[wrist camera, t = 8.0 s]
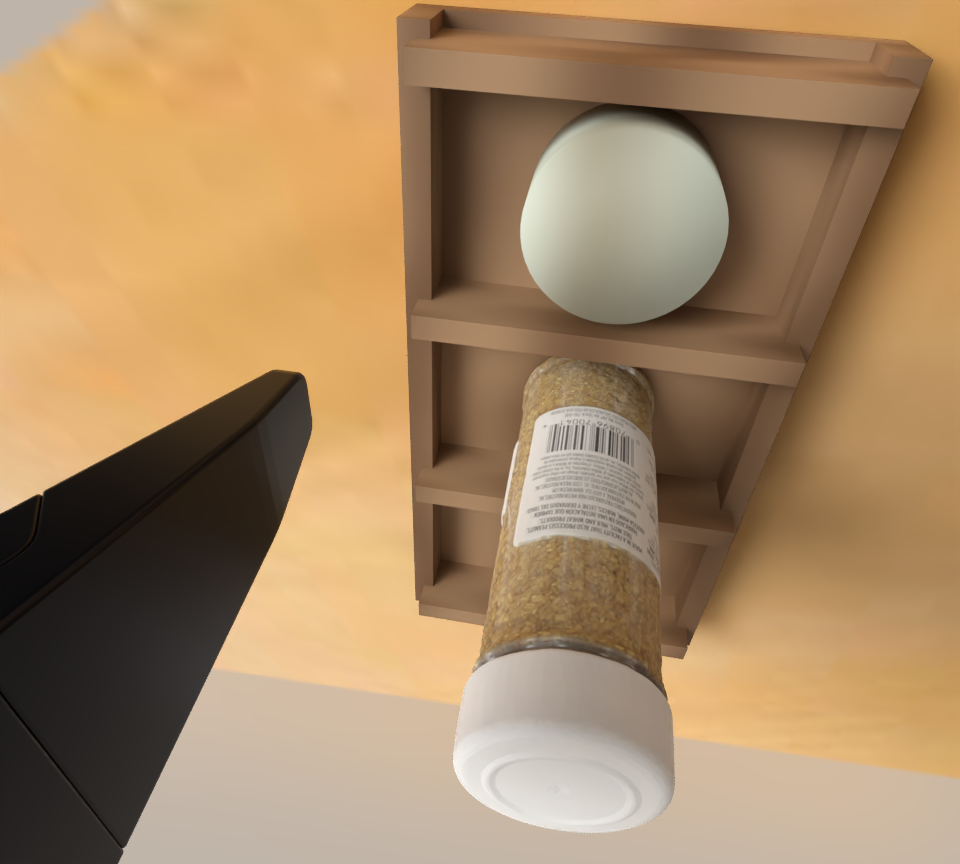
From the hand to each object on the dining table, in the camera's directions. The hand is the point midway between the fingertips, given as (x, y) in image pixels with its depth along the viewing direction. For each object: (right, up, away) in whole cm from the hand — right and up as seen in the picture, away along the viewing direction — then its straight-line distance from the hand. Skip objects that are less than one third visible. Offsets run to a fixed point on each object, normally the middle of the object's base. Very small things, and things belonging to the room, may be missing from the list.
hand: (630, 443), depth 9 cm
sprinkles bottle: (+2, +1, +15) cm, 15 cm away
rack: (+2, +2, +15) cm, 16 cm away
